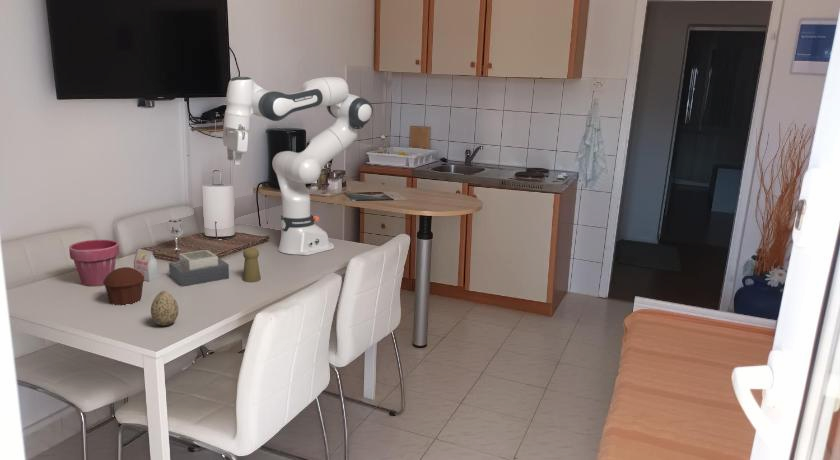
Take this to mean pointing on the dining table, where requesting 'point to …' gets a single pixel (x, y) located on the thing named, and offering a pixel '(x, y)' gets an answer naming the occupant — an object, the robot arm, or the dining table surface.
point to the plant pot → (94, 260)
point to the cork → (251, 265)
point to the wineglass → (175, 229)
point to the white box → (146, 265)
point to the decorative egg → (164, 309)
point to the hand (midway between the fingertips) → (233, 162)
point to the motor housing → (198, 268)
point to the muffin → (124, 286)
